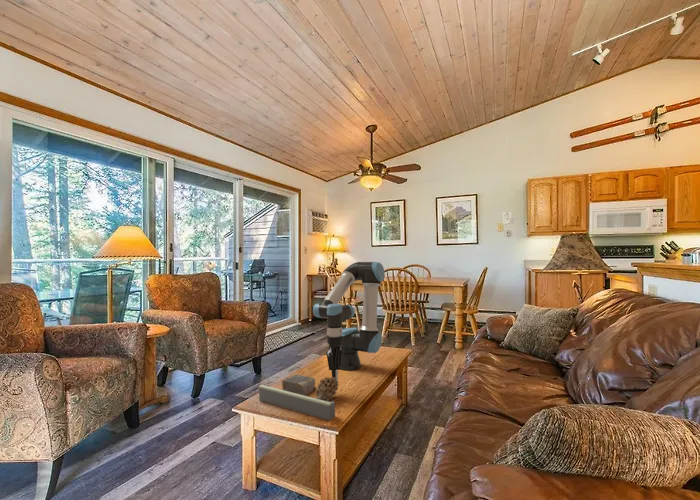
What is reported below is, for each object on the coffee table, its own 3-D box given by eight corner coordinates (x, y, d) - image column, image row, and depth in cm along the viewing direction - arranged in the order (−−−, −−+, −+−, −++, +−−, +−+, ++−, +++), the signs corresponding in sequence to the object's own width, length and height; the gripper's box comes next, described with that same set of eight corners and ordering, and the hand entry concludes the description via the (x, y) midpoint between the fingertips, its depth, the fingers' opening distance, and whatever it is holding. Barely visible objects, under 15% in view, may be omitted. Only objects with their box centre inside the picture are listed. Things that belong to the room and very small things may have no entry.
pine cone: (325, 391, 165) (325, 372, 165) (342, 395, 161) (342, 374, 161) (300, 410, 145) (300, 388, 145) (319, 415, 141) (319, 391, 141)
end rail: (266, 396, 159) (266, 382, 159) (334, 415, 140) (334, 399, 140) (259, 400, 155) (258, 386, 155) (328, 420, 136) (328, 404, 136)
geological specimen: (293, 373, 177) (317, 376, 170) (294, 385, 177) (317, 388, 170) (281, 380, 167) (305, 383, 161) (281, 392, 167) (306, 396, 160)
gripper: (334, 339, 156) (334, 389, 155) (347, 333, 167) (348, 380, 167) (321, 337, 160) (321, 386, 159) (335, 331, 171) (335, 377, 170)
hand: (335, 383), depth 163 cm, fingers closed
